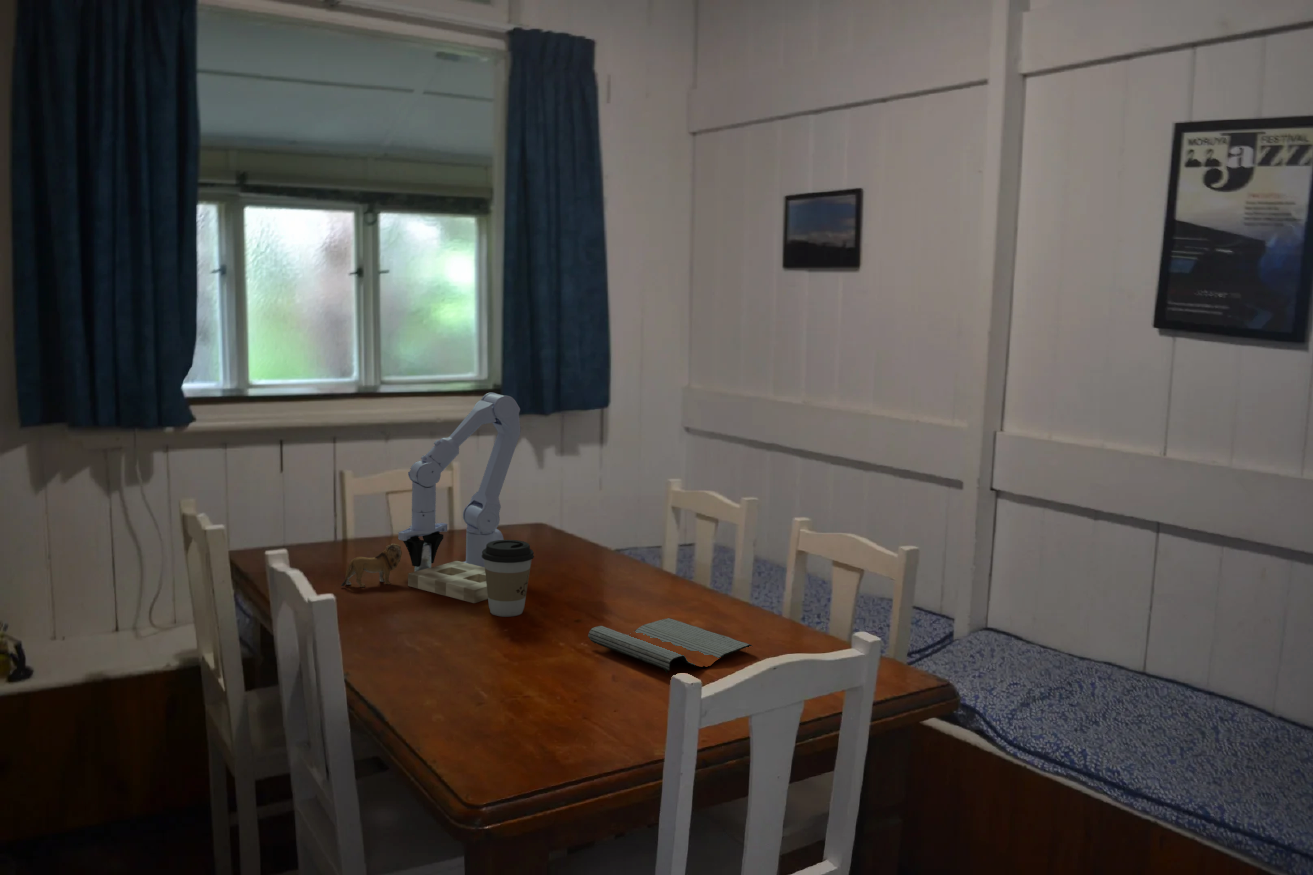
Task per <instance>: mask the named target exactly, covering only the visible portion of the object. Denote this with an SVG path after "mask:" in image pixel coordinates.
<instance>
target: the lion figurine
mask: <svg viewBox="0 0 1313 875" xmlns="http://www.w3.org/2000/svg"><path fill="white" fill-rule="evenodd" d="M402 555H403V552H402V547H401V545H400V544H397V543H390V544H388V545H387V546H385V549H384V550H383V551H381V552H380V553H379V554H378V555H377V556H376V555H375V557H365V556H357V557H355V558H353V559H351V561H349V563H348V565H347V568H346V572H345V578H344V581H343V582H342V583H341V585H340V586H341V587H344V586H345V585H348V586H349V585H352V581H350V578H352V577H353V576H354V575H356V579H355V582H356V583H357V584H358V585H359V587H360V588H365V587H366V584H365V583H362V576H363V574H364V571H365V572H367V573H371V574H375V573H378V574H379V577H378V578H379V582H381V583H384V582H385V584H386V585H391V584H392V581H390V580H389V579H390V576H391V575H390V573H391V571H394V570H396V568H397V567H398V565H399V563H400V562H401V557H402Z"/></svg>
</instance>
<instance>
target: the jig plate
mask: <svg viewBox="0 0 1313 875" xmlns="http://www.w3.org/2000/svg"><path fill="white" fill-rule="evenodd" d="M464 562H465V561H459V560H454V561H451V562H447V563H443V564H439V565H435V566H431V568H427V569H423V570H419V571H416V572H415V571H412V572H409V573H407V587H410V588H411V587H412V588H414V589H417V590H418V589H419V590H422V591H425V592H426V591H427V592H429V593H430V592H431V593H433V594H437V595H441V596H444V597H450V598H453V599H456V600H460V601H465V602H467V603H472V604H476V603H479V602H482V601H486V600H488V593H487V584H486V574H485V567H481V566H477V565H473V564H469V563H464Z"/></svg>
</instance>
